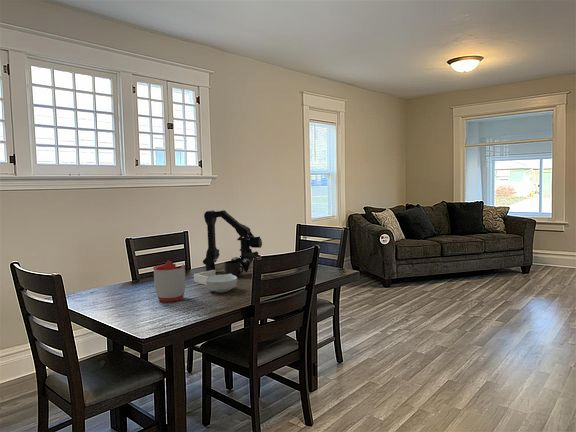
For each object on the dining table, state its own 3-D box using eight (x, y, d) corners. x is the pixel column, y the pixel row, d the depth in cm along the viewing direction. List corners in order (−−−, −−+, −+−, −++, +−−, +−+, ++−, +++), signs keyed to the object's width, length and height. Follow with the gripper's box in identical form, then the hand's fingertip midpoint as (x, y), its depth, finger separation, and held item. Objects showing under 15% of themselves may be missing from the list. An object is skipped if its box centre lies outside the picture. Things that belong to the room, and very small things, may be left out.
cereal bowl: (199, 293, 239) (198, 280, 238) (218, 285, 253) (217, 273, 253) (225, 296, 231) (225, 282, 230) (243, 288, 245) (243, 275, 245)
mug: (240, 278, 269) (239, 263, 268) (222, 278, 273) (221, 263, 272) (247, 275, 277) (246, 260, 277) (229, 274, 282) (228, 260, 281)
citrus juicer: (195, 296, 232) (193, 258, 230) (171, 305, 217) (168, 264, 216) (173, 293, 240) (171, 256, 238) (148, 301, 225) (145, 262, 224)
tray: (194, 281, 266) (193, 273, 266) (214, 277, 276) (214, 269, 275) (211, 286, 253) (210, 278, 252) (232, 281, 263) (231, 273, 262)
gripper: (241, 250, 268) (242, 276, 269) (265, 246, 280) (266, 271, 282) (230, 249, 276) (231, 274, 277) (253, 245, 288) (254, 269, 290)
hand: (246, 272), depth 281 cm, fingers closed
